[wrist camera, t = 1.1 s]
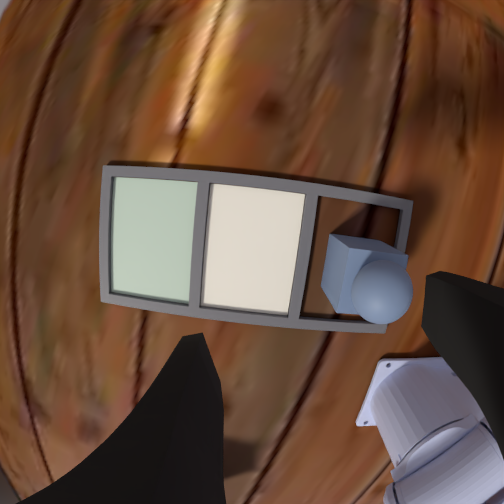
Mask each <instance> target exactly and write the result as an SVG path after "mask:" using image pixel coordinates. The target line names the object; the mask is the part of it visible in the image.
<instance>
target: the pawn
mask: <svg viewBox="0 0 504 504" xmlns="http://www.w3.org/2000/svg"><path fill="white" fill-rule="evenodd" d="M407 261H408V255H407V254H405V253H403V252H401V251H399V250H397V249H395V248H393V247H391V246H389V245H388V244H386V243H384V242H382V241H380V240H374V239H367V238H359V237H352V236H345V235H337V234H330V235H329V241H328V247H327V253H326V259H325V265H324V271H323V277H322V282H321V287H322V289H323V291H324V292H325V294H326V296H327V297H328V299H329V301H330V302H331V304H332V306H333V308H334V309H335V311H336V313H346V314H359V315H360V316H361V317H362V318H364V319H365V320H367V321H369V322H371V323H375V324H388V323H391V322H394V321H396V320H397V319H399V318H400V317H402V316H403V315H404V314H405V312H406V311H407V310H408V308H409V306H410V304H411V301H412V297H413V286H412V282H411V279H410V277H409V275H408V273H407V272H406V271H405V270H406V266H407Z"/></svg>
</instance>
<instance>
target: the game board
mask: <svg viewBox="0 0 504 504" xmlns="http://www.w3.org/2000/svg"><path fill="white" fill-rule="evenodd" d="M124 177H136V178H124ZM144 178H154V179H144ZM160 179H169V180H160ZM175 180H183V181H175ZM188 181H195V182H188ZM210 183H218V184H211V185H210ZM222 184H228V185H222ZM232 185H238V186H232ZM242 186H248V187H242ZM251 187H257V188H251ZM260 188H265V189H260ZM268 189H273V190H268ZM209 190H210V195H209ZM277 190H282V191H277ZM285 191H289V192H285ZM292 192H297V193H292ZM300 193H304V194H300ZM318 196H325V197H332V198H338V199H345V200H351V201H357V202H363V203H369V204H375V205H380V206H386V207H391V208H397V209H400V215H399V221H398V227H397V233H396V239H395V244H394V248H395V249H397V250H399V251H401V252H403V253H405V249H406V244H407V238H408V233H409V227H410V221H411V214H412V208H413V201H411V200H406V199H401V198H396V197H391V196H386V195H381V194H376V193H370V192H365V191H359V190H353V189H348V188H342V187H335V186H329V185H323V184H316V183H309V182H302V181H295V180H287V179H280V178H272V177H263V176H254V175H245V174H236V173H225V172H214V171H203V170H190V169H175V168H158V167H137V166H103V172H102V184H101V200H100V227H99V267H100V293H101V302H106V303H111V304H116V305H122V306H127V307H133V308H139V309H144V310H150V311H157V312H163V313H169V314H176V315H183V316H190V317H197V318H204V319H212V320H220V321H228V322H236V323H245V324H254V325H264V326H275V327H286V328H297V329H310V330H325V331H341V332H361V333H385V332H386V328H387V325H388V324H375V323H371V322H369V321H354V320H338V319H324V318H311V317H299V315H300V309H301V304H302V298H303V292H304V286H305V280H306V274H307V268H308V262H309V256H310V249H311V242H312V236H313V229H314V222H315V214H316V207H317V199H318ZM304 198H305V202H304ZM208 200H209V205H208ZM303 206H304V210H303ZM207 210H208V215H207ZM302 214H303V217H302ZM206 221H207V226H206ZM301 221H302V225H301ZM300 229H301V232H300ZM205 232H206V238H205ZM299 236H300V239H299ZM298 243H299V246H298ZM204 244H205V250H204ZM297 250H298V253H297ZM203 257H204V263H203ZM296 257H297V260H296ZM295 263H296V266H295ZM202 270H203V277H202ZM294 270H295V273H294ZM293 277H294V280H293ZM292 283H293V286H292ZM201 285H202V292H201ZM291 289H292V292H291ZM120 293H121V294H120ZM126 294H127V295H126ZM132 295H133V296H132ZM290 295H291V298H290ZM138 296H139V297H138ZM144 297H145V298H144ZM157 299H158V300H157ZM170 301H171V302H170ZM200 301H201V306H200ZM177 302H178V303H177ZM289 302H290V304H289ZM184 303H185V304H184ZM288 308H289V310H288ZM231 309H232V310H231ZM258 312H259V313H258ZM267 313H268V314H267ZM287 314H288V315H287Z"/></svg>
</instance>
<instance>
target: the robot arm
mask: <svg viewBox="0 0 504 504" xmlns="http://www.w3.org/2000/svg"><path fill="white" fill-rule="evenodd" d="M421 327H422V328H423V330H424V332H425V333H426V335H427V337H428V338H429V340H430V342H431V343H432V345H433V346H434V348H435V349H436V351H437V352H438V353H439V354H440V356H441V357H432V358H397V359H381V360H380V361H379V362H378V364H377V367H376V370H375V373H374V375H373V378H372V381H371V384H370V386H369V389H368V392H367V394H366V397H365V400H364V402H363V405H362V407H361V410H360V412H359V415H358V417H357V420H356V425H357V426H371V425H377V427H378V429H379V432H380V434H381V436H382V439H383V441H384V443H385V446H386V448H387V450H388V453H389V455H390V457H391V460H392V462H393V464H394V467H395V468H394V469H393V470H391V475H392V477H393V480H394V482H393V483H391V484H389V485H388V486H387V487H386V492H385V494H384V504H504V289H503V288H500V287H496V286H493V285H490V284H487V283H483V282H480V281H477V280H474V279H470V278H467V277H464V276H460V275H456V274H452V273H448V272H443V271H439V272H436V273H433V274H430V275H427V276H426V286H425V298H424V308H423V317H422V325H421ZM388 363H390V364H389V365H387V364H388ZM386 365H387V366H386ZM365 421H366V422H365ZM223 427H224V409H223V399H222V391H221V382H220V379H219V376H218V374H217V371H216V368H215V366H214V363H213V360H212V358H211V355H210V352H209V349H208V347H207V344H206V341H205V338H204V335H203V333H198V334H193V335H188V336H183V337H182V338H181V340H180V341H179V343H178V344H177V346H176V347H175V349H174V351H173V352H172V354H171V355H170V357H169V359H168V360H167V362H166V363H165V365H164V366H163V368H162V370H161V371H160V373H159V374H158V376H157V377H156V379H155V380H154V382H153V383H152V385H151V386H150V388H149V389H148V390H147V392H146V393H145V394H144V396H143V397H142V398H141V400H140V401H139V402H138V404H137V405H136V406H135V408H134V409H133V410H132V412H131V413H130V414H129V415H128V416H127V418H126V419H125V420H124V421H123V422H122V423H121V424H120V426H119V427H118V428H117V429H116V430H115V431H114V432H113V433H112V434H111V435H110V436H109V437H108V438H107V439H106V440H105V441H104V442H103V443H102V444H101V445H100V446H99V447H98V448H97V449H95V450H94V451H93V452H92V453H91V454H90V455H89V456H88V457H87V458H85V459H84V460H83V461H82V462H81V463H80V464H78V465H77V466H76V467H75V468H73V469H72V470H71V471H69V472H68V473H67V474H65V475H64V476H62V477H61V478H60V479H58V480H57V481H55V482H54V483H52V484H51V485H49V486H47V487H46V488H44V489H42V490H41V491H39V492H37V493H35V494H33V495H32V496H30V497H28V498H26V499H24V500H22V501H20V502H18V503H17V504H226V499H225V491H224V480H223Z"/></svg>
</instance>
